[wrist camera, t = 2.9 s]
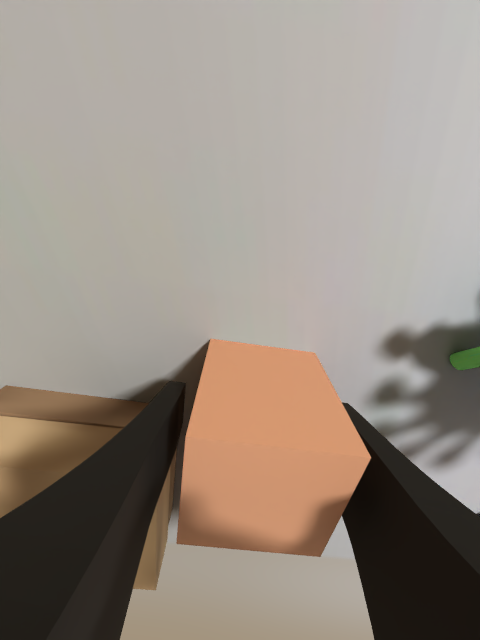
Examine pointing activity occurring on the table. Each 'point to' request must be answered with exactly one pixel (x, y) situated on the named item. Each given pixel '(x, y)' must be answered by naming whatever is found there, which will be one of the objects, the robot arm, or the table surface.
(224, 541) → the block
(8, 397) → the tower base
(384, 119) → the table surface
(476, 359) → the gear
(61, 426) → the tower top
